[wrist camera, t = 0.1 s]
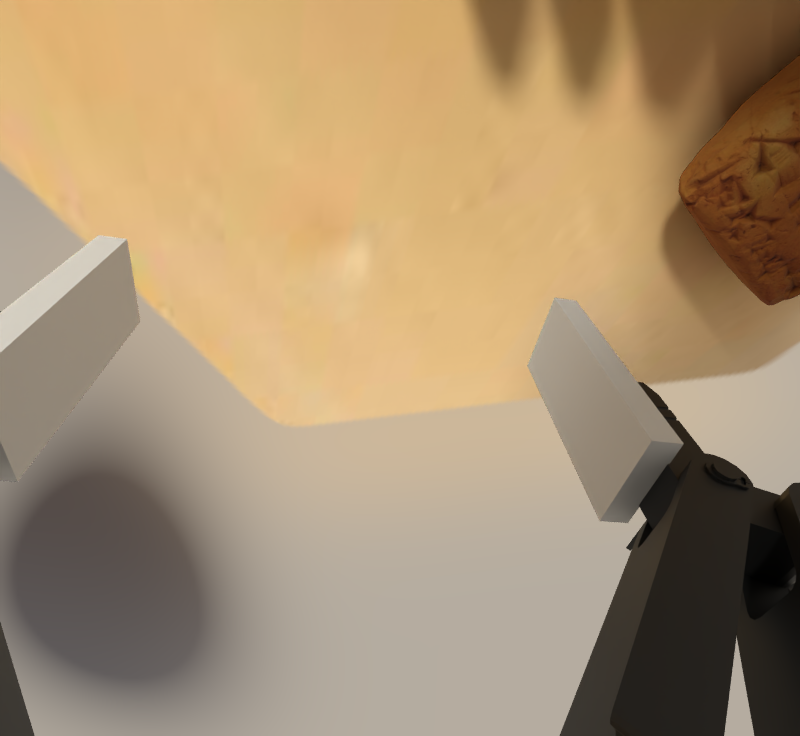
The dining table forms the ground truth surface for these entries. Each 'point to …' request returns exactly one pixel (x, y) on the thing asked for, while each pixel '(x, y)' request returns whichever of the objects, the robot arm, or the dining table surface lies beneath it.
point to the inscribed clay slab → (754, 189)
